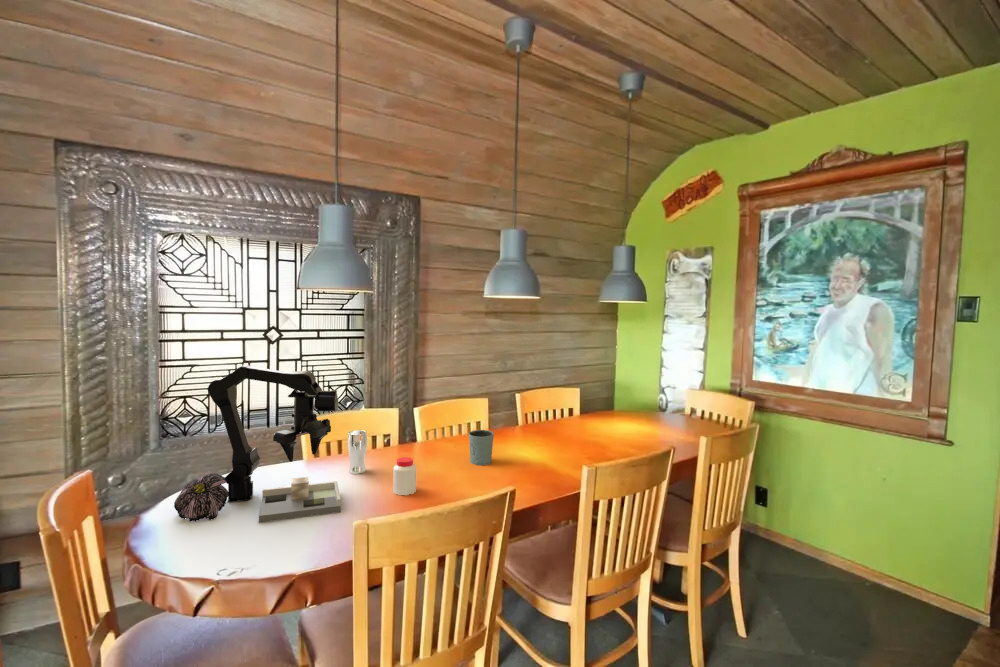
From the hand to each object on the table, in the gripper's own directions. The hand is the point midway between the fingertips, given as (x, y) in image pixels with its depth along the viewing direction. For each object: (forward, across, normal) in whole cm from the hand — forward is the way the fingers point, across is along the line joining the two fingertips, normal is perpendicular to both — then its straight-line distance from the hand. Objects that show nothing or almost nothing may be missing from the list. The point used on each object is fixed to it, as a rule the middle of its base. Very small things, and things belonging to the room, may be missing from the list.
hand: (302, 457), depth 161 cm
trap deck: (+13, -6, -6) cm, 15 cm away
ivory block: (+11, -4, -3) cm, 12 cm away
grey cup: (+11, +61, -33) cm, 70 cm away
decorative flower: (+14, -24, +15) cm, 31 cm away
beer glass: (+13, +27, +1) cm, 30 cm away
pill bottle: (+12, +20, -26) cm, 35 cm away
